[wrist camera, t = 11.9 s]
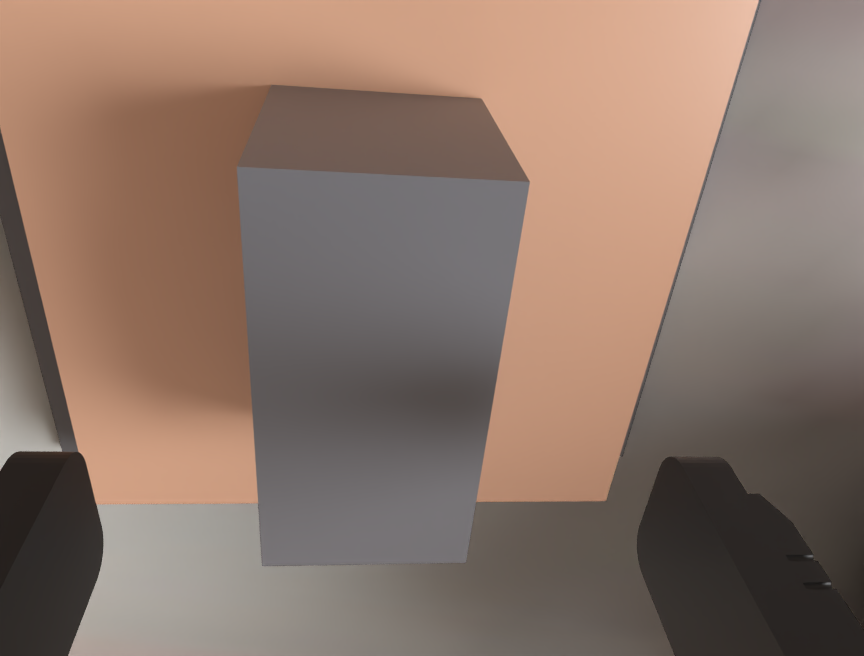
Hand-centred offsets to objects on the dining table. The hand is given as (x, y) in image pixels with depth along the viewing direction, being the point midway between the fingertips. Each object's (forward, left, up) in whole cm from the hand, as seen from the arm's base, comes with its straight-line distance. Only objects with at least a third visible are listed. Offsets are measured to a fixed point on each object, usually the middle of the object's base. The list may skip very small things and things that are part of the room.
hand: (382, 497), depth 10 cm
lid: (0, 0, -9) cm, 9 cm away
